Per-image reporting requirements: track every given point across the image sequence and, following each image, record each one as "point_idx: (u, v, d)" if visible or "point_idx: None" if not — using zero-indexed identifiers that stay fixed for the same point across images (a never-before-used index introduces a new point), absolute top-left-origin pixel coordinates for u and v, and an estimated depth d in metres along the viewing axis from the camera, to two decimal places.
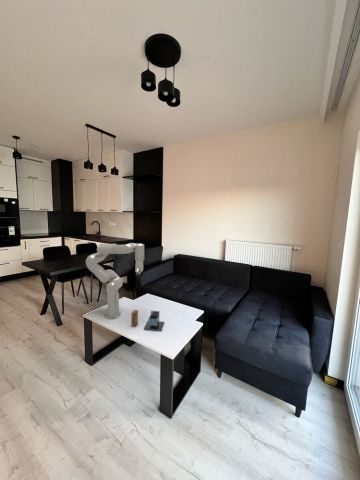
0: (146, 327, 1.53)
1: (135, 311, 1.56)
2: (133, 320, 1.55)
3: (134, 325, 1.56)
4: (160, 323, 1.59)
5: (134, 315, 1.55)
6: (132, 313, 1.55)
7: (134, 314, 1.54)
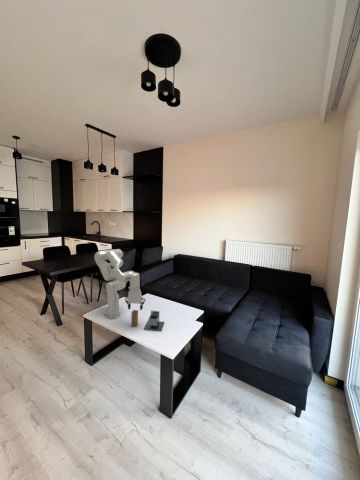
0: (146, 327, 1.53)
1: (135, 311, 1.56)
2: (133, 320, 1.55)
3: (134, 325, 1.56)
4: (160, 323, 1.59)
5: (134, 315, 1.55)
6: (132, 313, 1.55)
7: (134, 314, 1.54)
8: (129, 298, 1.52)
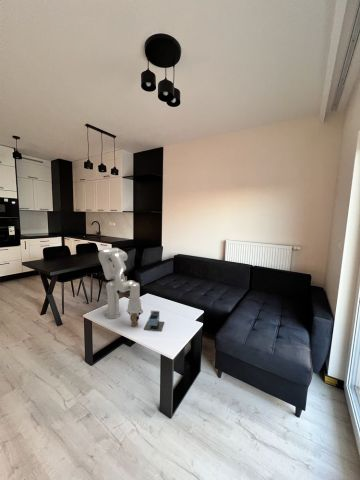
0: (146, 327, 1.53)
1: None
2: (133, 320, 1.55)
3: (134, 325, 1.56)
4: (160, 323, 1.59)
5: (134, 315, 1.55)
6: (132, 313, 1.55)
7: (134, 314, 1.55)
8: (129, 308, 1.54)
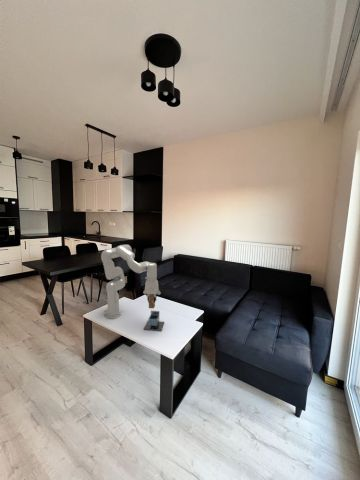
0: (146, 327, 1.53)
1: None
2: (151, 301, 1.51)
3: (151, 306, 1.51)
4: (160, 323, 1.59)
5: (151, 296, 1.50)
6: (149, 294, 1.50)
7: (151, 295, 1.50)
8: (146, 289, 1.49)
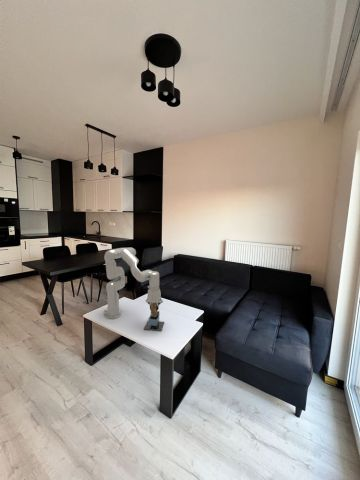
0: (146, 327, 1.53)
1: None
2: (153, 310, 1.51)
3: (154, 315, 1.52)
4: (160, 323, 1.59)
5: (154, 305, 1.51)
6: (152, 303, 1.51)
7: (154, 304, 1.51)
8: (148, 297, 1.50)
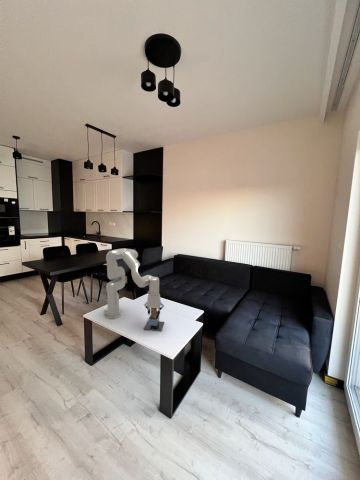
0: (146, 327, 1.53)
1: None
2: (153, 316, 1.52)
3: None
4: (160, 323, 1.59)
5: (153, 311, 1.51)
6: (151, 309, 1.51)
7: (153, 310, 1.51)
8: (148, 303, 1.50)
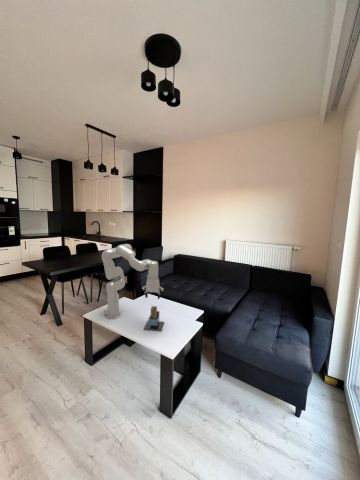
0: (146, 327, 1.53)
1: (154, 307, 1.53)
2: (153, 316, 1.52)
3: None
4: (160, 323, 1.59)
5: (153, 311, 1.51)
6: (151, 309, 1.51)
7: (153, 310, 1.51)
8: (147, 286, 1.50)
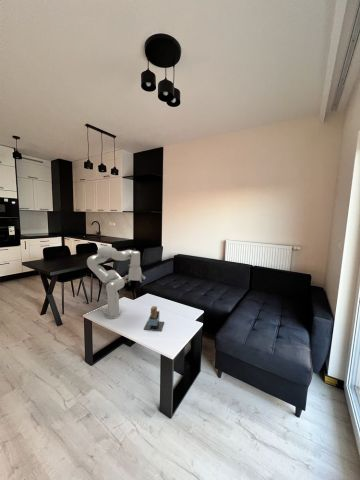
0: (146, 327, 1.53)
1: (154, 307, 1.53)
2: (153, 316, 1.52)
3: None
4: (160, 323, 1.59)
5: (153, 311, 1.51)
6: (151, 309, 1.51)
7: (153, 310, 1.51)
8: (129, 275, 1.58)
